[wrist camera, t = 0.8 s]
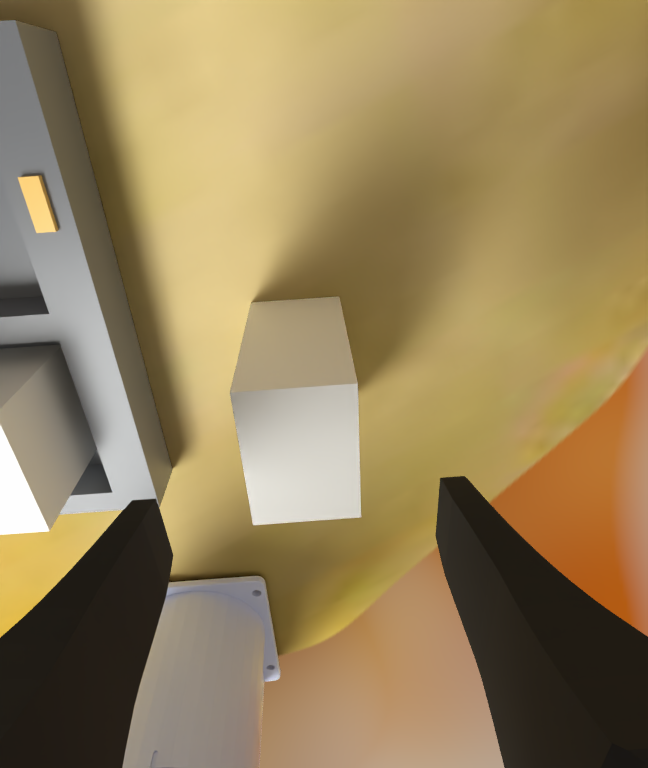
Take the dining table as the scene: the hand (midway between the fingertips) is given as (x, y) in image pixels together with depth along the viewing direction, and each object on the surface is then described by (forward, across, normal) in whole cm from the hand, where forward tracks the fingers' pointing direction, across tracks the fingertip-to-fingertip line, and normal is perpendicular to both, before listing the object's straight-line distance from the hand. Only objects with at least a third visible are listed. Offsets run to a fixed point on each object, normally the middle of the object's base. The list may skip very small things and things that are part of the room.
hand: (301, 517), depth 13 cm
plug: (+9, 0, 0) cm, 9 cm away
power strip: (+9, +11, -3) cm, 15 cm away
